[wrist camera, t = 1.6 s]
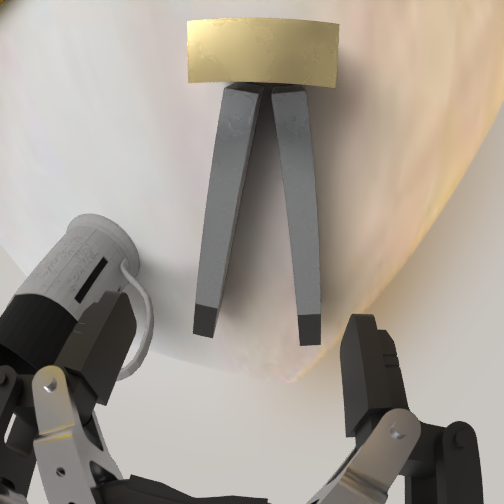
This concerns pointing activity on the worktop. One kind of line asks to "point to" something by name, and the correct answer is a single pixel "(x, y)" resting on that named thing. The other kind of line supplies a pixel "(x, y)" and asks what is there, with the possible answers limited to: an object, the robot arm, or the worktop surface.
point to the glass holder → (70, 294)
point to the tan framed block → (263, 51)
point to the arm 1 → (224, 198)
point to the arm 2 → (300, 205)
